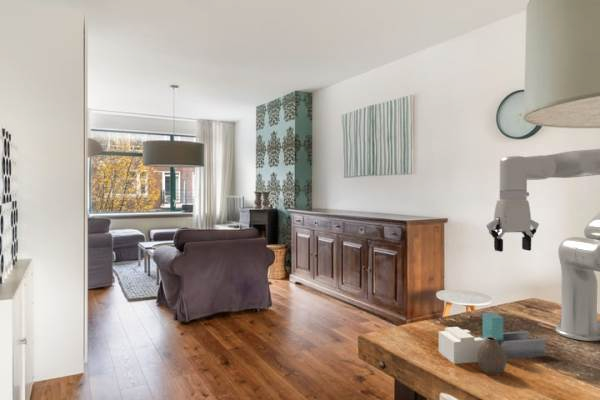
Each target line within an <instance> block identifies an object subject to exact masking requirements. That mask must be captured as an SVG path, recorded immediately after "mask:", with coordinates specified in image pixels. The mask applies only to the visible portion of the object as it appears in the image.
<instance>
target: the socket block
mask: <svg viewBox="0 0 600 400" xmlns="http://www.w3.org/2000/svg"><path fill="white" fill-rule="evenodd" d="M471 333H472V332H471V331H470V330H469V329H462V328H460V327H458V326H449V327H444V330H440V331H438V353H439V354H441V355H442V356H443V357H445V358H446V359H447V360H448V361H449V362H450V363H452V364H453V365H455V364H457V365H458V364H459V365H460V364H468V363H470V364H471V363H478V360H477V352H478V349H479V347H480V346H481V345H482V344H483V343H484V340H483V339H482V338H483V337H481V336H480V337H475V336H473V335H472V334H471Z"/></svg>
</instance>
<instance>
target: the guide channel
mask: <svg viewBox="0 0 600 400" xmlns="http://www.w3.org/2000/svg"><path fill="white" fill-rule="evenodd" d="M546 342H547V341H546V339H544V338H531V332H530V331H528V330H521V331H520V330H519V331H505V332H504V331H503V341H501V342H498V343H499V344H500V346H501V347H502V348H503V350H504V352H505V355H506V360H512V359H513V360H514V359H525V358H527V359H528V358H537V357H538V358H539V357H547V352H546V345H547V344H546Z"/></svg>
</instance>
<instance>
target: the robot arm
mask: <svg viewBox="0 0 600 400" xmlns="http://www.w3.org/2000/svg"><path fill="white" fill-rule="evenodd" d="M591 176H592V177H593V176H600V148H593V149H582V150H579V149H578V150H571V151H563V152H559V153H552V154H546V155H545V154H544V155H531V156H523V155H522V156H520V155H518V156H517V155H513V156H511V155H510V156H504V157H502V158H500V160H499V199H498V200H496V203H495V208H494V214H493V215H494V216H493V220H492V221H490V222H489V223H486V228H487V229H488V233H489V235H491V236H492V238H493V242H494V243H493V248H494V251H495V252H499V253H500V252H501V253H502V252H503V251H504V240H503V236H504V235H505V234H506V233H507V234H508V233H521V234H522V235H523V236H522V238H521V250H524V251H529V252H530V251H532V238H533V237H534V235H535V234H536V233H537V230H538V228H539V225H540V223H539V222H537V221H535V220H533V219H532V218H531V207H530V203H529V200H528V199H527V198H528V197H529V196H530V193H529V191H528V189H527V188H528V183H527V182H528V181H533V180H534V181H536V180H538V181H539V180H541V181H542V180H547V179H550V178H557V179H558V178H559V179H562V178H563V179H570V178H582V177H591ZM583 234H584V236H585V237H579V236H573V237H572V236H571V237H567V238H566V239H563V241H561V242H560V244H559V247H558V249H557V251H558V252H557V253H558V260H559V262H560V263H559V264H560V270H561V302H560V303H561V308H560V310H561V319H560V320H561V321H560V323H561V324H558V325H556V326H555V332H556V333H558V334H559V335H560V336H562V337H565V338H569V339H573V340H579V341H583V342H584V341H585V342H598V341H600V321H598V280H597V279H598V278H597V275H596V273H595V272H600V211H599V212H598V213H597V214H596V215H594V217H593V218H591V220H590V221H589V222H588V223H587V224H586V225H585V227H584V229H583Z"/></svg>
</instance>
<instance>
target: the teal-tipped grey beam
mask: <svg viewBox="0 0 600 400" xmlns="http://www.w3.org/2000/svg"><path fill="white" fill-rule="evenodd" d="M503 333H504V317H503V316H501V315H499V314H497V313H495V312H485V313H482V337H481V338H482V339H483V340H484V342H485V340H486V338H487V337H493V338H496V339H497V341H498V342H501V341H503Z"/></svg>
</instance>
